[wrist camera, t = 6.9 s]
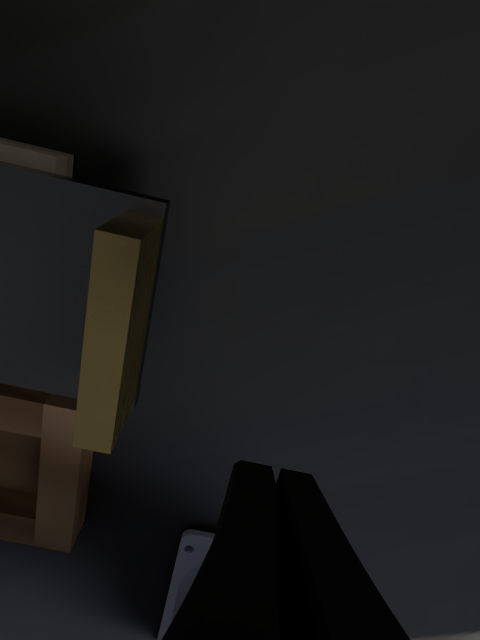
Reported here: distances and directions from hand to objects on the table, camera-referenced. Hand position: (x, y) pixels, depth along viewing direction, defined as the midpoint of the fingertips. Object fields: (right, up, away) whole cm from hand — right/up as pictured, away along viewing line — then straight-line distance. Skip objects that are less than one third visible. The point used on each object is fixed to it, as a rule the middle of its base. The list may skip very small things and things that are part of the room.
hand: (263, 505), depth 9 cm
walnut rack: (-11, -2, +12) cm, 17 cm away
